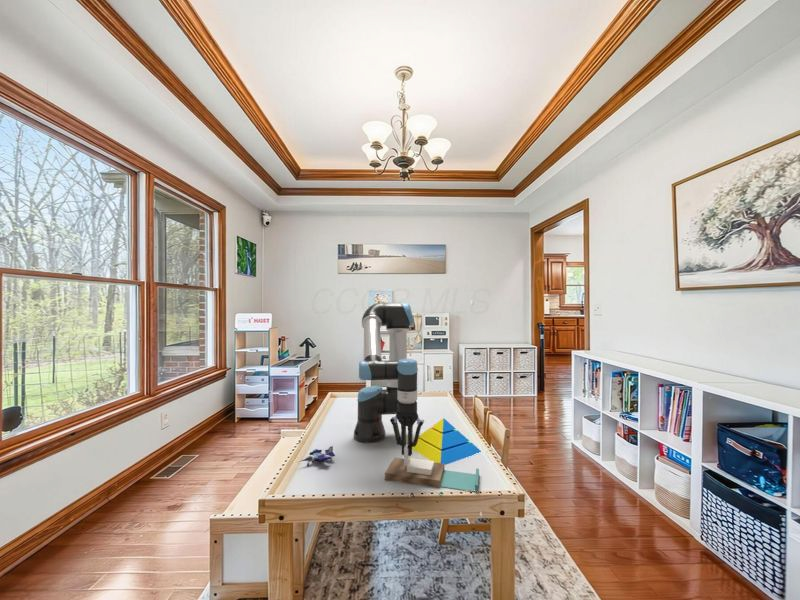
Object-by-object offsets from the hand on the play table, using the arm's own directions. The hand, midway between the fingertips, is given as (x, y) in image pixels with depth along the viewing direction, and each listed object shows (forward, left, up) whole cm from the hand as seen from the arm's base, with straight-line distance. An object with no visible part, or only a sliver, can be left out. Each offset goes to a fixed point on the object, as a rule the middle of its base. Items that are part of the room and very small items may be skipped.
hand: (406, 463), depth 130 cm
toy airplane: (-37, -1, -4) cm, 37 cm away
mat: (+20, 0, -4) cm, 20 cm away
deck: (+3, 0, -4) cm, 5 cm away
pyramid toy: (+10, +26, -5) cm, 29 cm away
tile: (+5, 0, -1) cm, 6 cm away
